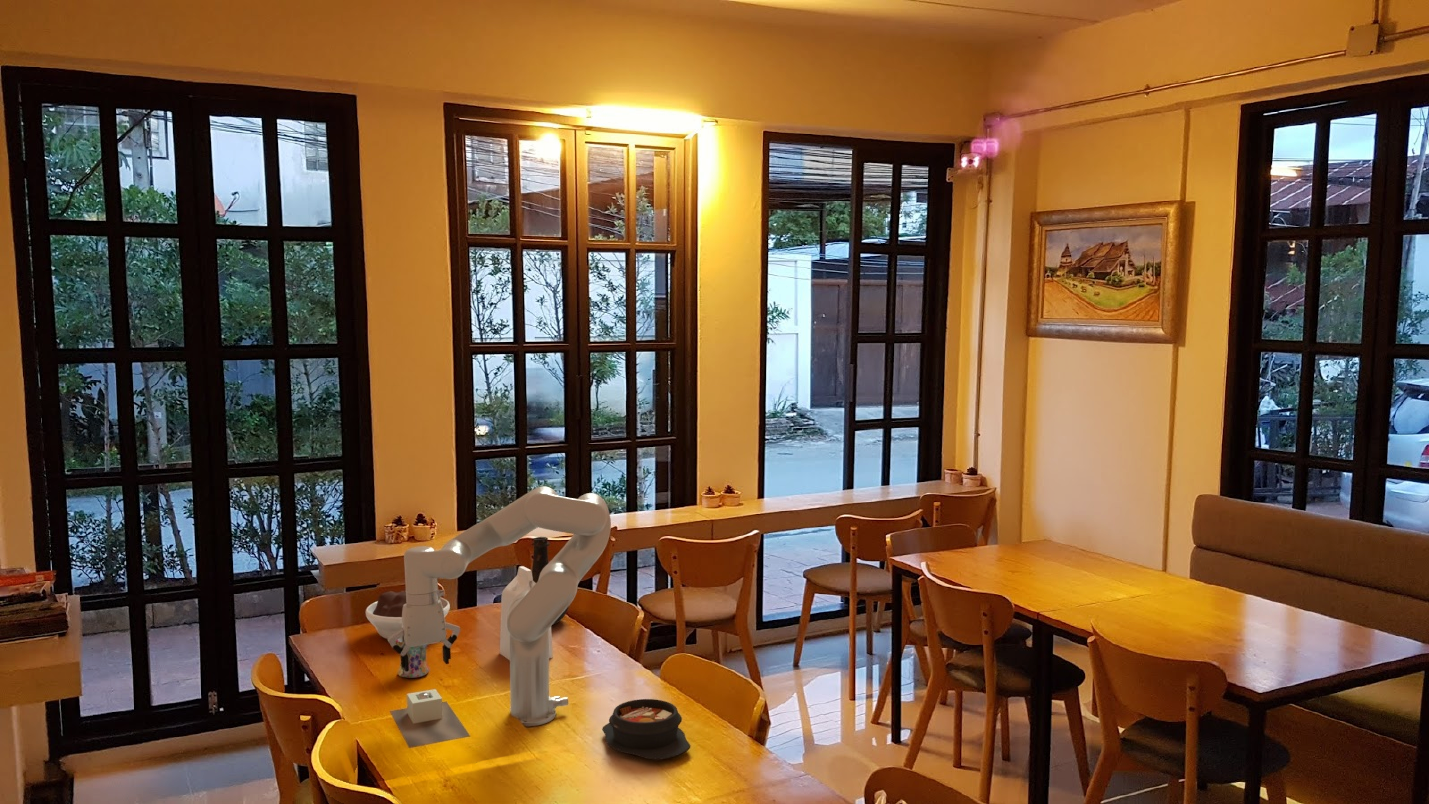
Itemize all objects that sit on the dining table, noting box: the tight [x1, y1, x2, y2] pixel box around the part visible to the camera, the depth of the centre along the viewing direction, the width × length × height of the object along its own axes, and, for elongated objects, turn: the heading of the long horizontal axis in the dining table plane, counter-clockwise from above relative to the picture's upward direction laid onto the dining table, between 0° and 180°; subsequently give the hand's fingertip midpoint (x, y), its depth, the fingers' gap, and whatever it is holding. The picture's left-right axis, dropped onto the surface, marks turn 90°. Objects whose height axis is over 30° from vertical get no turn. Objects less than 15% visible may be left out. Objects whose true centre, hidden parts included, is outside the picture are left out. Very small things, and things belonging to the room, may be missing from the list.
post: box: [419, 692, 429, 700], centre depth 253 cm, size 2×4×6 cm, turn 28°
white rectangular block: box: [406, 688, 443, 724], centre depth 253 cm, size 7×7×5 cm
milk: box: [499, 565, 554, 661], centre depth 301 cm, size 12×12×26 cm
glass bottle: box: [530, 536, 570, 626], centre depth 332 cm, size 18×18×28 cm
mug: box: [396, 637, 431, 679], centre depth 286 cm, size 12×9×11 cm
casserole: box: [601, 698, 691, 761], centre depth 240 cm, size 25×19×8 cm
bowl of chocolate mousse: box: [365, 589, 451, 640], centre depth 319 cm, size 25×25×15 cm
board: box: [389, 701, 471, 749], centre depth 248 cm, size 14×24×2 cm, turn 28°
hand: (426, 666), depth 252 cm, fingers open, 9 cm apart
